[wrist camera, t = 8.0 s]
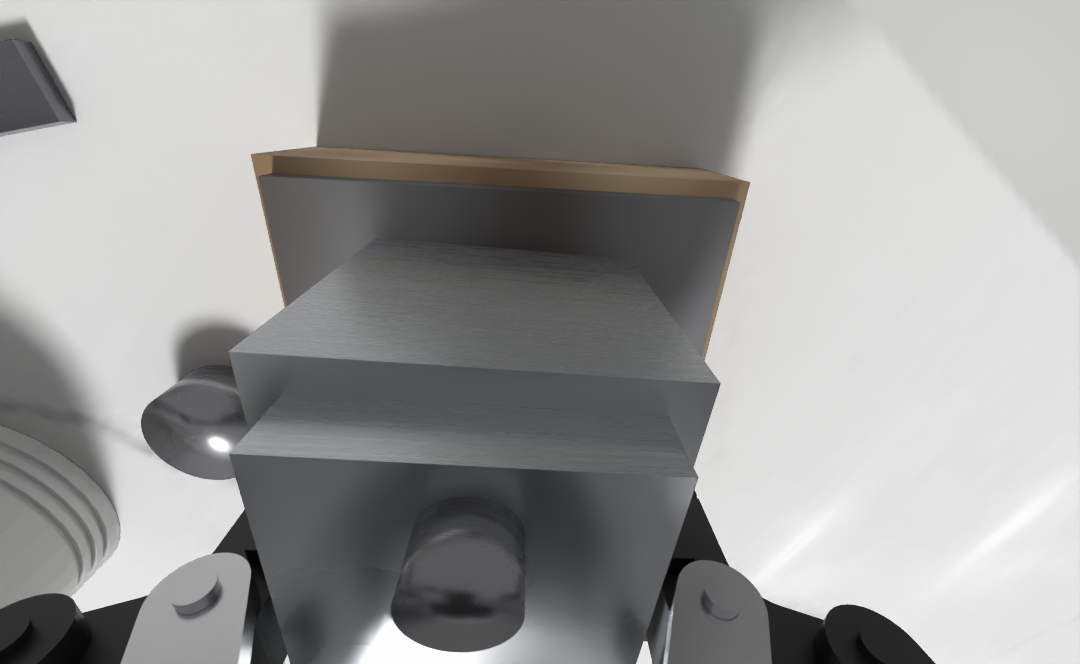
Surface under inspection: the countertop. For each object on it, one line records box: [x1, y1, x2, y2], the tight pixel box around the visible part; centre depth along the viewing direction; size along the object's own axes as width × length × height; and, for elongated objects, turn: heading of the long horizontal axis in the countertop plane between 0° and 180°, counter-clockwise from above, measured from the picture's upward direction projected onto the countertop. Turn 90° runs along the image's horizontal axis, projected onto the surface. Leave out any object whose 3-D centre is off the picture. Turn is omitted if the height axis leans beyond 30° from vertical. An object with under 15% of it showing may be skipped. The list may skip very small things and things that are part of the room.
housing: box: [228, 238, 721, 664], centre depth 8 cm, size 9×6×7 cm, turn 175°
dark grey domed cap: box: [141, 366, 249, 480], centre depth 17 cm, size 4×4×2 cm
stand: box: [251, 147, 750, 361], centre depth 14 cm, size 12×12×4 cm
